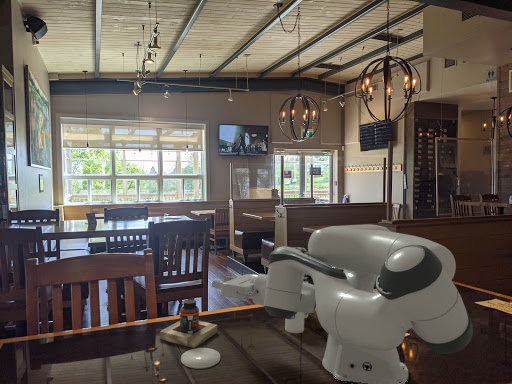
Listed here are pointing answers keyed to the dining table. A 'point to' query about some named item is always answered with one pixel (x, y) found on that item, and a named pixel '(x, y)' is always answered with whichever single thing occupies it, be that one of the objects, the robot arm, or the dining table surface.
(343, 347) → the robot arm
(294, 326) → the candle
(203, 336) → the square frame
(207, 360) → the coaster
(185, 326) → the supplement bottle
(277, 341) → the dining table surface
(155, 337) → the dining table surface
